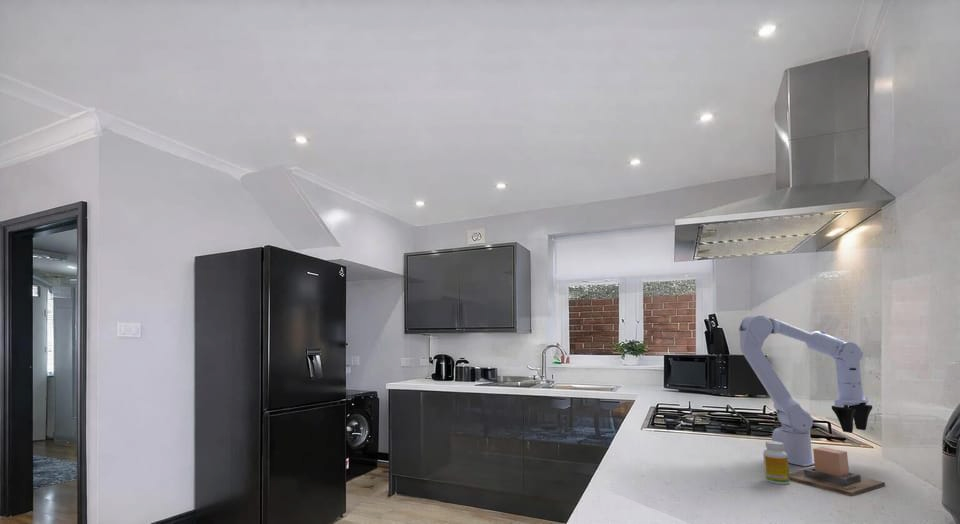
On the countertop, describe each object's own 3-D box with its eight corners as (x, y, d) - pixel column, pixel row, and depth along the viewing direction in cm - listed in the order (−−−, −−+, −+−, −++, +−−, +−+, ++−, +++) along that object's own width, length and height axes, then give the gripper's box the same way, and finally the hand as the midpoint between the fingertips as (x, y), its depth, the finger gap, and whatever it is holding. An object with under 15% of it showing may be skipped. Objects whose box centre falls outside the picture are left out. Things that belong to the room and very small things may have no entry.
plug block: (815, 476, 127) (813, 448, 128) (824, 474, 129) (821, 446, 130) (841, 483, 122) (838, 453, 123) (849, 480, 124) (846, 451, 125)
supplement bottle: (793, 485, 123) (789, 445, 124) (769, 484, 124) (766, 444, 125) (784, 479, 128) (781, 440, 129) (762, 478, 129) (759, 439, 130)
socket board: (782, 478, 129) (781, 468, 129) (816, 469, 136) (815, 460, 137) (852, 496, 115) (850, 485, 115) (885, 485, 122) (884, 475, 123)
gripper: (852, 385, 138) (857, 436, 136) (877, 383, 144) (883, 430, 143) (824, 383, 144) (829, 431, 142) (850, 380, 151) (855, 426, 149)
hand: (854, 430), depth 143 cm, fingers open, 7 cm apart
